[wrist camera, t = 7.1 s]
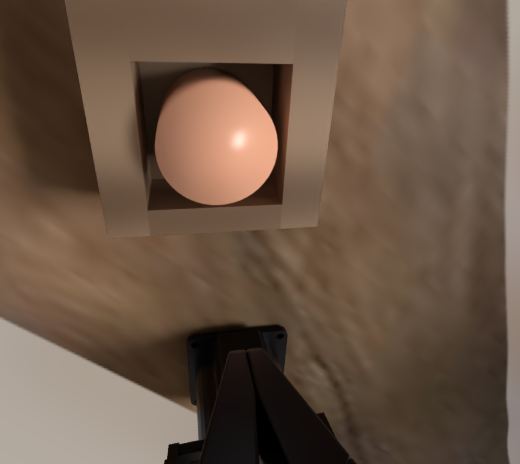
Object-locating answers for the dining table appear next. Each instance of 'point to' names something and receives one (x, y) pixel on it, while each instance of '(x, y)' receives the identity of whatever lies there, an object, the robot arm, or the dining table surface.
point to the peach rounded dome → (214, 138)
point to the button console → (196, 57)
